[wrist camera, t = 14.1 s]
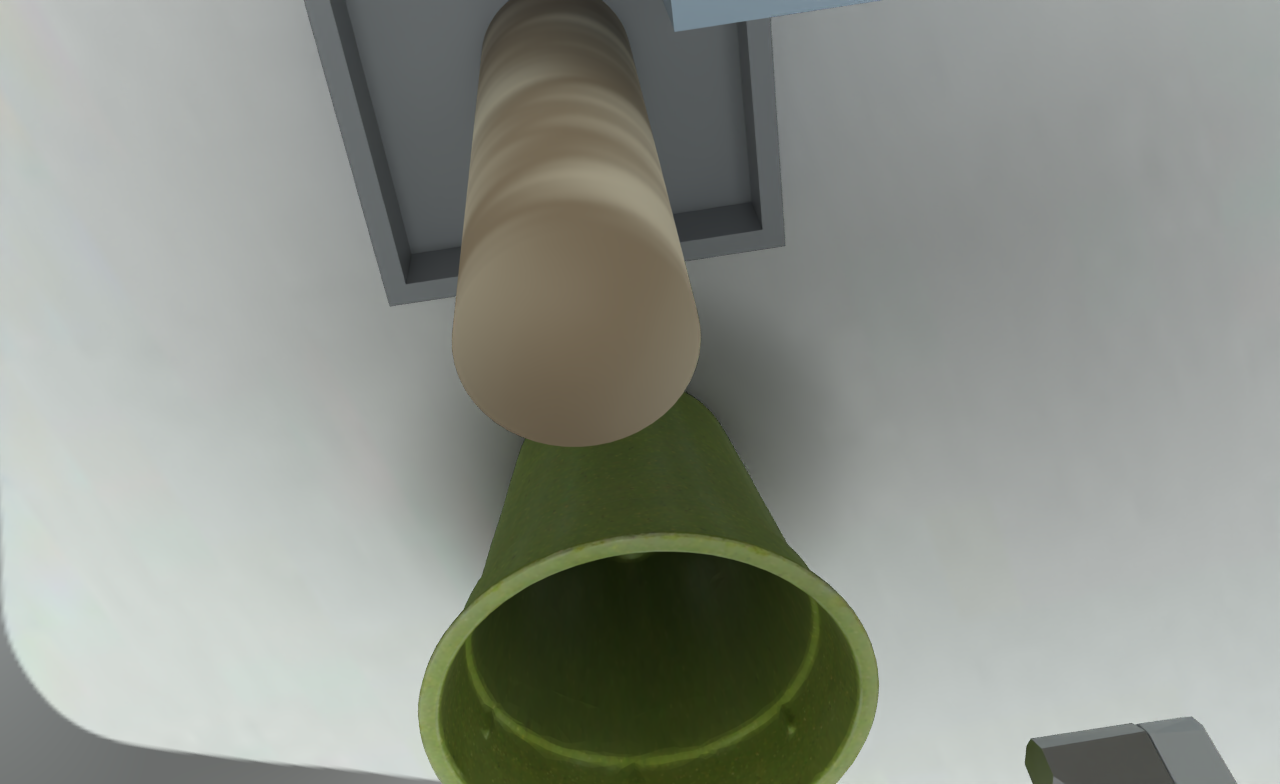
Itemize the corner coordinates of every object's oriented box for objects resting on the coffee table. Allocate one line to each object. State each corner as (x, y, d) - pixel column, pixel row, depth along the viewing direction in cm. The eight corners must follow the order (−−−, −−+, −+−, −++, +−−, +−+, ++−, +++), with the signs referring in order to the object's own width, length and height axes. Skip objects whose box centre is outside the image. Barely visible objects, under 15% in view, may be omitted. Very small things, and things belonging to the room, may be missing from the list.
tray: (739, -207, 29) (755, -195, 27) (769, 209, 35) (785, 245, 33) (288, -138, 29) (270, -121, 27) (397, 266, 35) (389, 306, 33)
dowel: (620, -27, 30) (687, 213, 18) (640, 121, 33) (711, 427, 20) (467, -4, 30) (426, 253, 18) (497, 142, 33) (479, 463, 20)
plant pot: (842, 340, 38) (947, 575, 28) (741, 611, 44) (799, 880, 34) (475, 276, 35) (456, 509, 26) (421, 572, 42) (390, 847, 32)
